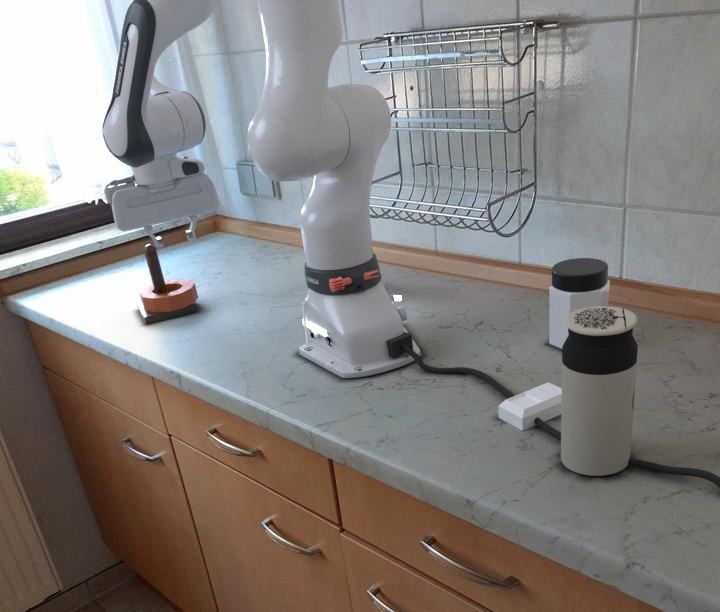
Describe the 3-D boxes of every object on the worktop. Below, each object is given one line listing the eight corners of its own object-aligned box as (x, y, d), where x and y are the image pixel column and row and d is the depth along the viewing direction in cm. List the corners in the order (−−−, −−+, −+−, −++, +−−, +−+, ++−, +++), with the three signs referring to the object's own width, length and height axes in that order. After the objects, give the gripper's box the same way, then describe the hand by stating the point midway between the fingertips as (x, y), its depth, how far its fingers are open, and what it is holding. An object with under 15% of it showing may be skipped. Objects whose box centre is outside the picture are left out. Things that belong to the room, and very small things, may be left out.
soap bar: (575, 408, 106) (575, 390, 105) (522, 430, 103) (522, 412, 101) (550, 396, 110) (550, 379, 108) (498, 417, 106) (498, 400, 105)
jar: (600, 328, 127) (603, 254, 121) (614, 348, 120) (617, 271, 114) (544, 334, 128) (544, 261, 121) (554, 355, 121) (554, 278, 114)
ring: (203, 302, 158) (200, 288, 157) (151, 316, 155) (147, 302, 153) (189, 289, 167) (186, 275, 165) (139, 302, 163) (135, 288, 162)
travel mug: (555, 475, 93) (557, 331, 83) (566, 441, 99) (568, 304, 90) (626, 481, 90) (636, 333, 81) (632, 446, 96) (642, 305, 87)
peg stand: (195, 312, 159) (178, 244, 151) (146, 324, 156) (126, 256, 149) (185, 298, 167) (168, 233, 159) (138, 310, 164) (119, 244, 157)
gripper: (102, 184, 143) (125, 259, 151) (211, 161, 148) (228, 234, 156) (99, 179, 149) (121, 252, 156) (204, 157, 154) (221, 229, 161)
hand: (175, 243), depth 156 cm, fingers open, 5 cm apart
